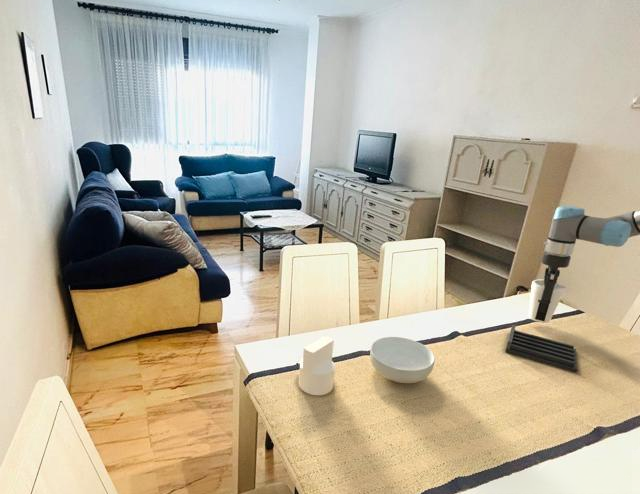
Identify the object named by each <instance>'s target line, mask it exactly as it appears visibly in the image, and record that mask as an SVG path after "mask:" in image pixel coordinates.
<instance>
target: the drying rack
mask: <svg viewBox="0 0 640 494" xmlns="http://www.w3.org/2000/svg"><path fill="white" fill-rule="evenodd" d="M504 352H505V353H507V354H510V355H514V356H517V357H521V358H524V359H527V360H531V361H535V362H537V363H542V364H545V365H547V366H552V367H555V368H558V369H562V370H565V371H569V372H572V373H576V374H577V372H578V361H577V360H578V359H577V348H575V346H574V345H573V344H568V343H565V342H560V341H557V340H553V339H550V338H546V337H542V336H538V335H535V334H531V333H527V332H524V331H519V330H516V324H511V329H510V332H509V335H508V339H507V343H506V347H505V351H504Z"/></svg>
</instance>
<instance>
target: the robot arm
mask: <svg viewBox="0 0 640 494" xmlns="http://www.w3.org/2000/svg"><path fill="white" fill-rule="evenodd" d="M585 213H586V211H585V209H584V208H583V207H579V206H572V205H560V206H558V207H557V208H556V209H555V212H554V214H553V217H552V219H551V224H550V228H549V232H548V236H547V240H546V241H544V242H543V244H544V245H545V247H544V252H543V254H542V258H541V263H542V264H544V265H545V266H547V267H545V270H544V275H543V276H544V277H543V278H544V279H543V280H544V285H545V286H544V287H545V288H544V290H543V294H542V298H541V300H538V302H540V303H539V306H538V310H537V313H536V317H535V319H536V320H540V321H545V317H546V314H547V311H548V307H549V304H550V303H551V302H550V301H551V297H552V293H553V290H554V286H555V284H556V282H557V283H558V278H559V277H560V274H561V269H559V268H562V269H565V268H568V267H569V265H570V263H571V259H572V255H573V252H574V250H575V246H576V241H577V240H580V241H585V242H588V243H589V242H590V243H594V244H599V245H604V246H605V247H606V246H607V247H609V246H610V247H617V248H619V247H622V246H624V245H625V244H626V243H627V241H628V240H629V238H632V237H637V236H640V208H639V209H637V210H633V211H629V212H626V213H621V214H619V215H614V216H609V217H605V218H604V217H596V216H590V215H586V214H585ZM545 299H547V300H545Z"/></svg>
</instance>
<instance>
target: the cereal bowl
mask: <svg viewBox="0 0 640 494" xmlns="http://www.w3.org/2000/svg"><path fill="white" fill-rule="evenodd" d="M369 350H370V351H369V357H370V363H371V365H372V367H373V369H374V370H375V371H376V372H377V373H378V374H379V375H380V376H382V377H383V378H386V379H387V380H389V381H392V382H396V383H401V384H414V383H419V382H422V381H424V380H425V379H427V378H428V377H429V376H430V375H431V373H432V371H433V369H434V366H435V361H436V359H435V358H436V357H435V354H434V353H433V351H432V350H431V349H430V348H429V347H428V346H426V345H424V344H423V343H421V342H419V341H416V340H414V339H411V338H406V337H402V336H401V337H400V336H386V337H381V338H378V339H376V340H374V341H373V342H372V343H371V346H370V349H369Z"/></svg>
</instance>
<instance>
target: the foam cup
mask: <svg viewBox="0 0 640 494" xmlns="http://www.w3.org/2000/svg"><path fill="white" fill-rule="evenodd" d="M544 286H545V285H544V279H534V280H532V282H531V285H530V299H529V307H528V318H529V319H530V320H532V321H534V322H536V323H541V324H549V323H550V321H551V320H552V318H553V316H554V314H555V311H556V310H557V307H558V305H559V303H560V301H561V299H562V297H563V296H564V294H565V291H566V286H565V285H564V284H562V283H560V282H558V281H557V282H556V284H555V286H554V290H553V293H552V297H551V301H550V302H551V303H550V304H549V307H548V311H547V314H546V317H545V321H540V320H536V319H535V317H536V313H537V310H538V306H539V303H540V302H538V300H541V298H542V294H543V290H544V288H545V287H544ZM545 300H547V299H545Z"/></svg>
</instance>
